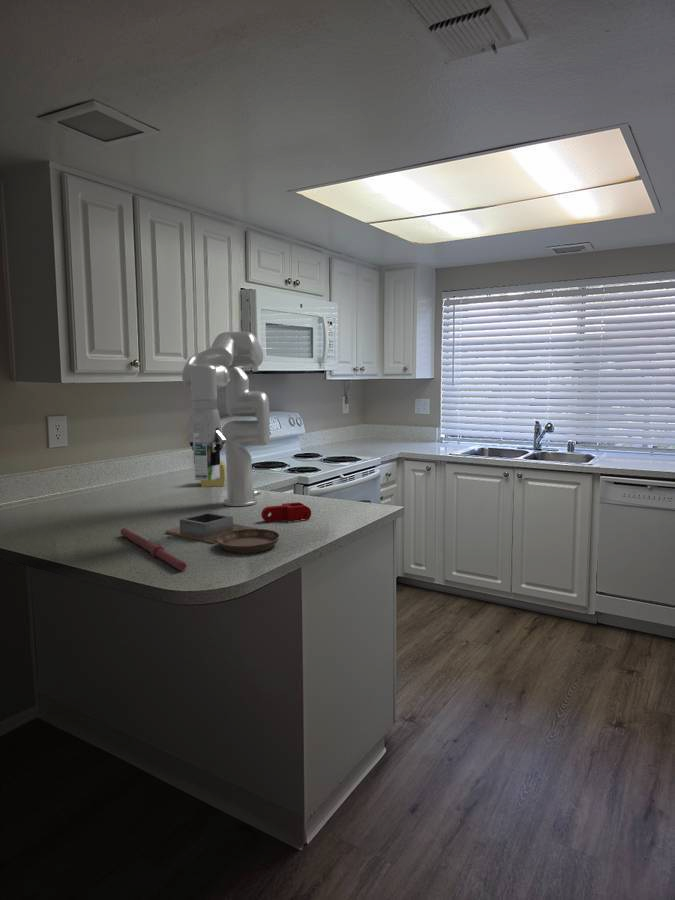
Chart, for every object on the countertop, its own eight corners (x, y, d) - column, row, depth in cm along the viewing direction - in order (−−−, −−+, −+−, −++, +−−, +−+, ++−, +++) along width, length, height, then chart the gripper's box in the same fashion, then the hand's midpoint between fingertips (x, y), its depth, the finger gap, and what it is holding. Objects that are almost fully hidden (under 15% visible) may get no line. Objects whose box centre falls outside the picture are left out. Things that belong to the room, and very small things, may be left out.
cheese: (202, 483, 283) (202, 461, 281) (226, 482, 284) (226, 460, 283) (200, 487, 272) (199, 464, 271) (225, 486, 274) (224, 464, 272)
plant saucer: (245, 559, 164) (245, 548, 164) (204, 548, 176) (204, 537, 175) (292, 545, 178) (292, 534, 177) (251, 535, 189) (251, 525, 189)
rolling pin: (188, 571, 155) (188, 559, 155) (176, 573, 153) (176, 561, 153) (129, 535, 191) (128, 525, 191) (119, 537, 189) (118, 527, 189)
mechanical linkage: (304, 515, 215) (304, 501, 214) (311, 520, 208) (311, 505, 208) (259, 520, 209) (259, 505, 208) (265, 525, 202) (265, 510, 202)
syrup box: (194, 480, 188) (192, 432, 186) (204, 477, 194) (202, 430, 192) (210, 481, 186) (208, 433, 184) (220, 477, 192) (219, 431, 190)
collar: (209, 521, 207) (209, 507, 206) (257, 530, 194) (257, 515, 193) (165, 533, 193) (165, 517, 192) (214, 543, 179) (213, 527, 179)
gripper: (175, 405, 189) (178, 463, 191) (215, 406, 179) (217, 467, 181) (194, 404, 195) (197, 460, 197) (234, 405, 185) (236, 464, 187)
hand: (207, 463), depth 189 cm, fingers closed on syrup box, 6 cm apart
